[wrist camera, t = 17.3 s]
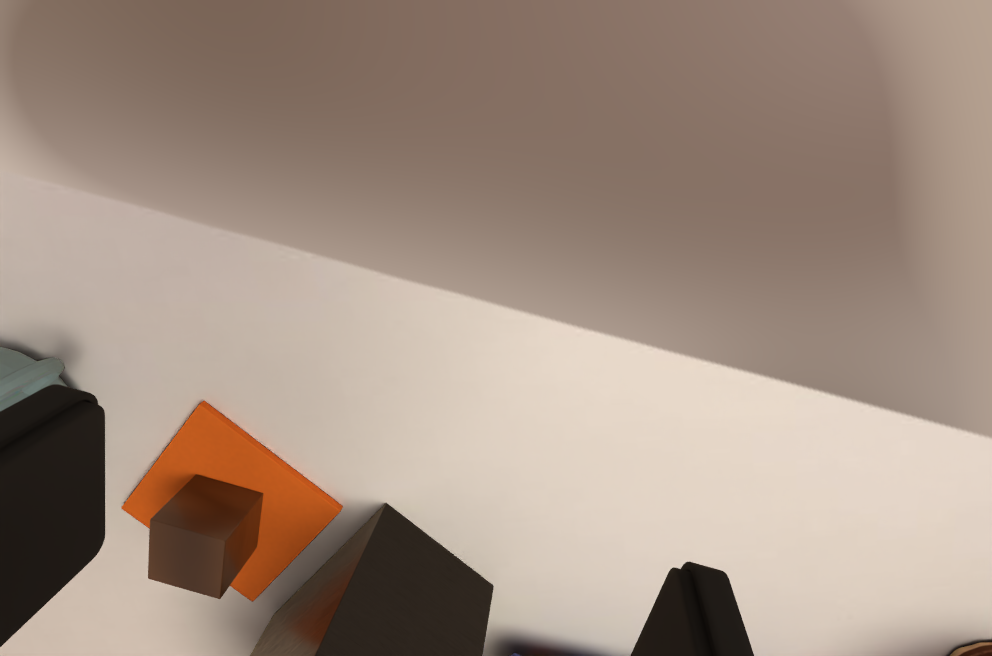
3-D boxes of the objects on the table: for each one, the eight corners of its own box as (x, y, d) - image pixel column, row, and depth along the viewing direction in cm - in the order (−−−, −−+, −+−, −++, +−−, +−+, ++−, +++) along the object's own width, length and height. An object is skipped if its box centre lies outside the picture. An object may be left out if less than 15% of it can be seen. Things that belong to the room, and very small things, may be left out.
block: (192, 528, 44) (147, 578, 39) (196, 473, 42) (149, 519, 38) (257, 547, 44) (220, 599, 39) (263, 492, 42) (225, 541, 37)
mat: (126, 503, 45) (120, 508, 44) (204, 400, 41) (198, 404, 40) (256, 596, 46) (252, 602, 46) (343, 506, 42) (340, 511, 42)
